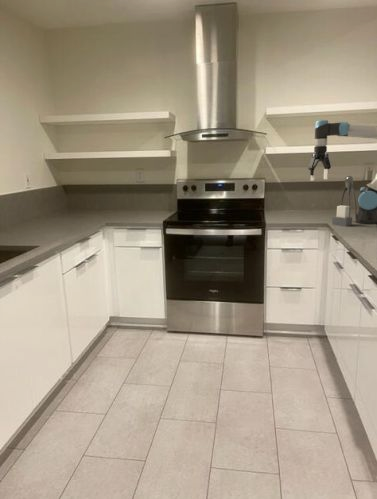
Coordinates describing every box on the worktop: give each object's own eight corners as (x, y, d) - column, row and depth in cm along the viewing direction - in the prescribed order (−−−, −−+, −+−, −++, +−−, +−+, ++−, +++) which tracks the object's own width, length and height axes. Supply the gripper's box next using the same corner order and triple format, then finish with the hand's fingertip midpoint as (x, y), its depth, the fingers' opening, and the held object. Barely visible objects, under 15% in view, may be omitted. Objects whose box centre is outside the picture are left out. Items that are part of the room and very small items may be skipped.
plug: (340, 223, 250) (341, 205, 247) (348, 224, 245) (349, 206, 242) (336, 224, 247) (337, 206, 244) (344, 225, 242) (345, 206, 240)
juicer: (356, 221, 254) (357, 175, 247) (338, 221, 259) (339, 176, 252) (358, 219, 262) (359, 174, 255) (341, 219, 267) (341, 175, 261)
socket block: (337, 223, 251) (338, 215, 250) (351, 225, 243) (352, 217, 242) (332, 224, 248) (332, 216, 247) (345, 226, 240) (346, 218, 239)
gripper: (327, 146, 251) (325, 178, 256) (303, 146, 237) (301, 180, 242) (337, 145, 245) (335, 178, 250) (313, 145, 231) (311, 181, 236)
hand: (319, 179), depth 246 cm, fingers open, 13 cm apart
